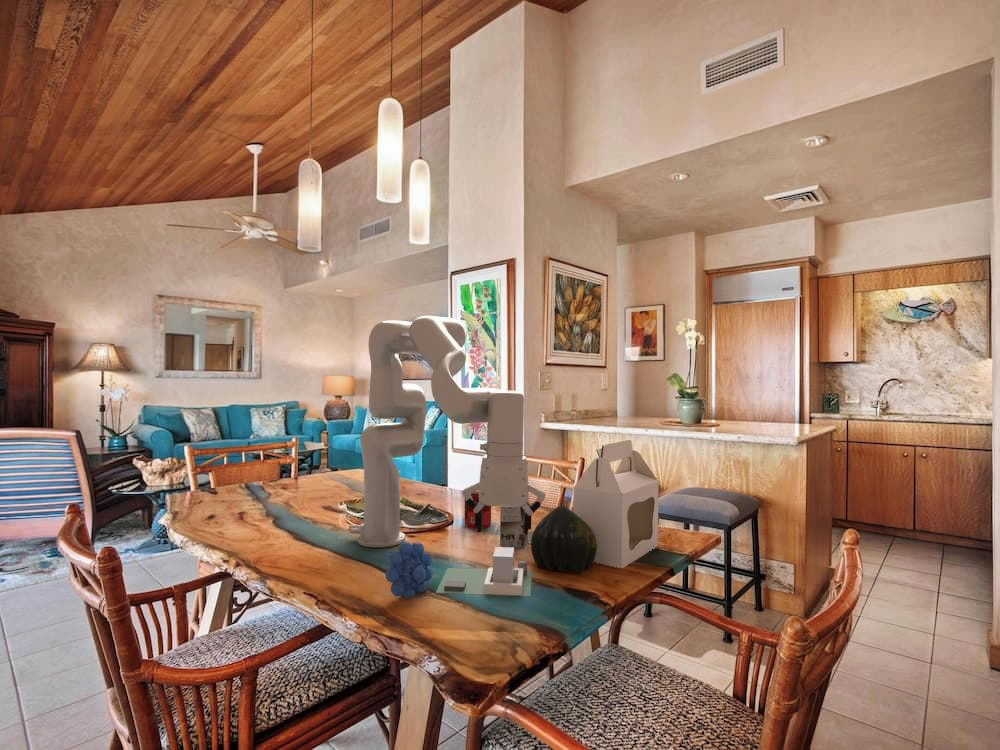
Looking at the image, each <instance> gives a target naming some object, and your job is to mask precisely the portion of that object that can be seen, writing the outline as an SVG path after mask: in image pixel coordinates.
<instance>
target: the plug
mask: <svg viewBox="0 0 1000 750" xmlns="http://www.w3.org/2000/svg"><path fill="white" fill-rule="evenodd" d="M492 567H493V582H495V583H514V568H515V549H514V548H513V547H500V546H495V547H494V550H493V555H492Z"/></svg>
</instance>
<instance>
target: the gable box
mask: <svg viewBox="0 0 1000 750" xmlns="http://www.w3.org/2000/svg"><path fill="white" fill-rule="evenodd" d="M595 451H596V454H597V455H598V457H596V458H594V459H593V460H592V461H591V462H590V464H589V465H588V467H587V468H586V470H585V471H584V472H583V474H582V475H581V477H580V478H579V479H578V481H577V482H576V484H575V485H574V486H573V490H572V491H573V495H572V496H573V497H572V499H573V501H572V502H573V504H572V505H573V507H572V508H573V511H572V512H573V513H575V514H576V515H577V516H578V517H580V518H581V519H582V520H583V521H584V522H585V523H586V524H587V525H588V526H589V527H590V528H591V529H592V531H593V533H594V535H595V538H596V543H597V550H596V556H595V559H594V562H593V563H595V562H596V563H597V564H599V563H600V565H603V566H609V567H612V566H613V567H612V568H616V567H617V569H620V568H622V569H623V568H626V567H627V566H629V565H630V564H632V563H633V562H635V561H637V560H638V559H640V558H642V557H643V556H645V555H646V554H648V553H649V551H650V552H651V551H653V550H655V549H656V548H658V547H659V480H658V479H657V477H656V476H655V475H654V473H653V472H652V470H651V468H650V467H649V466H648V464H647V463H646V461H645V459H643V457H642V455H641V453H640V452H638V451H636V450H634V449H633V441H632V440H631V439H626V440H623V441H617V442H612V443H607V444H603V445H602V446H601V448H598V449H595ZM620 460H621V461H620ZM616 461H620V463H619V464H618V466H617V468H616V470H615V473H614V472H613V470H612V469H613V468H612V467H611V465H610V463H612V462H616ZM636 541H637V542H636ZM657 546H658V547H657ZM652 549H653V550H652ZM628 564H629V565H628Z"/></svg>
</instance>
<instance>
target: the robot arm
mask: <svg viewBox="0 0 1000 750" xmlns="http://www.w3.org/2000/svg"><path fill="white" fill-rule="evenodd" d="M466 340H467V333H466V329H465V327H464V325H463V324H462V323H461V322H460V321H459V320H458V319H455V318H451V317H443V316H433V315H423V316H420V317H417V318H415V319H414V320H413V321H403V320H384V321H380V322H378V323H376V324H375V325H374V326H373V328H372V329H371V330H370V333H369V336H368V345H367V347H368V353H369V360H370V379H369V382H370V383H369V394H368V396H369V397H368V411H369V413H370V415H371V416H372V417H373V418H374V419H379V420H395V419H396V420H397V419H401V422H386V423H378V424H377V423H376V424H373V425H369V426H367V427H366V428H364V429H363V431H362V432H361V434H360V439H359V440H360V441H359V443H360V444H359V445H360V452H361V456H362V462H363V465H362V466H363V523H360V524H353V523H352V524H349V526H348V531H349V533H350V534H358V536H357V544H358V545H360V546H362V547H367V548H388V547H393V546H398V545H400V544H401V543H402V542H406V534H405V533H403V532H402V531H400V529H401V528H400V527H401V526H400V517H401V516H400V515H401V514H400V512H401V510H400V509H401V508H400V507H401V506H400V505H401V504H400V503H401V498H400V496H401V495H400V494H401V482H400V481H401V478H400V477H401V475H400V471H399V470H398V467H397V466H396V464H395V463H394V460H393V459H396V458H405V457H410V456H414V455H417V454H418V453H419V452H421V450H422V449H423V445H424V438H425V427H426V416H427V414H426V413H427V398H426V395H425V392H424V391H423V389H422V388H421V387H420V386H419V385H417V384H414V383H403V382H404V381H403V379H404V368H403V364H402V362H401V360H400V357H399V356H398V354H400V355H414V356H415V355H416V356H418V355H419V356H422V358H423V359H424V361H425V362H426V364H428V366H429V368H430V369H431V370H432V371H433V372H432V374H431V379H430V387H431V394H432V397H433V400H434V401H435V403H436V404H437V406H438V407H439V409H440V411H442V413H443V414H444V415H445V417H446V418H447V419H449V420H450V421H451V422H453V423H455V424H461V425H462V424H475V423H478V424H479V423H480V424H481V423H487V431H486V433H487V434H486V439H487V441H485V442H483V443H479V450H480V451H485V453H486V454H484V455H483V456H482V459H481V465H480V471H479V482H476V483H475V484H473V485H470V486H468V488H467V487H465V488H466V489H465V488H463V490H462V491H461V492H462V493H461V494H462V495H463V498H464V501H465V500H466V501H467V504H468V505H469V506H470V507H471V508H472V509H473V511H474V513H475V527H478V529H477V533H481V532H482V531H483V529H484V528H483V511H482V508H483V507H484V506H485V505H486V506H491V507H500V506H501V507H522V508H523V509H524V511H525V512H526V513H525V516H524V534H525V535H528V536H529V530H532V516H533V514H534V513H535V512H536V511H537V510H538V509H539V508H541V506H542V503H543V501H544V500H545V499H546V492H544V491H543V490H541V489H539V488H537V487H536V486H533V485H532V484H530V483H529V484H528V482H529V469H528V468H529V466H528V461H527V457H526V456H525V455H524V426H525V425H524V423H525V421H524V417H525V416H524V415H525V397H524V394H523V393H522V392H520V391H518V390H504V389H503V390H502V389H498V388H493V387H461V386H460V385H459V384H458V383H457V382H456V380H455V379H454V378H453V377H455V376H456V375H457V374H459V373H460V372H461V371H462V369H463V367H464V366H465V364H466V362H467V361H466V360H467V356H466V353H465V351H464V349H463V347H464V345H465V343H466ZM477 490H479V502H478V503H477V502H476V501H475V500H474V499H473V498H472V496H471V493H473V492H475V491H477ZM529 493H531V494H532V495H534V496H536V500H535V501H534V502H533V503H532V504H530V503H529Z"/></svg>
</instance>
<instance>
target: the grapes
mask: <svg viewBox="0 0 1000 750" xmlns="http://www.w3.org/2000/svg"><path fill="white" fill-rule="evenodd" d="M424 547H425V546H424V544H423V543H421V542H420V541H415V542H413V543H410V542H409V541H404V542H402V543H400V544H399V546H398V551H397V550H395V551H392V552H391V553H390V555H388V563H389V564H390V565H391V566H390V567H389V568H387V569H386V571H385V579H386V580H387V581H388V582H389V583H390V584H391V585H390V591H391V594H392V595H393V596H395V597H402V598H403V599H410V598H414V597H415V596H416V594H421V593H425V592H426V590H427V584H426V582H427V583H428V582H430V581H431V580H432V579H433V570H432V568H430V566H431V564H432V561H433V560H432V559H433V558H432V554H430V553H429V552H427V551H425V548H424Z"/></svg>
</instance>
